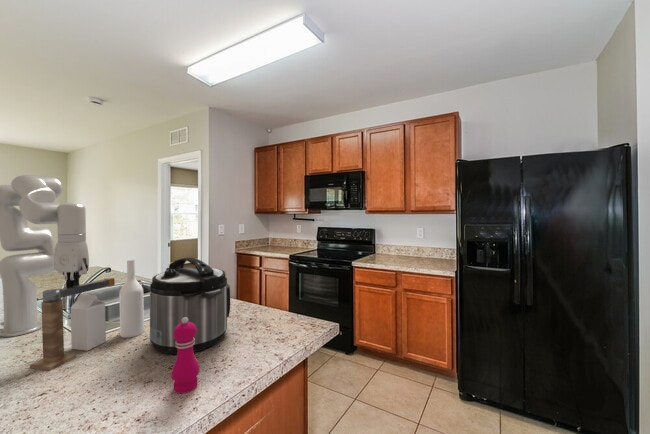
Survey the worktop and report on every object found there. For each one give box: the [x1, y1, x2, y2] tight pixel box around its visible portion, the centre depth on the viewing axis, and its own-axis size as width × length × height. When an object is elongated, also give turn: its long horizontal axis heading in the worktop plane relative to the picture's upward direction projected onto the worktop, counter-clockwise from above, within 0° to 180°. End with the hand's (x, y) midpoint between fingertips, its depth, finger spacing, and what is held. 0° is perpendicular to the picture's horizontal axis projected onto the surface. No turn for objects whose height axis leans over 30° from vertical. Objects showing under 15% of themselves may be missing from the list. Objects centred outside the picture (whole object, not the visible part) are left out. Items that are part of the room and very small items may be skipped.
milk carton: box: [70, 293, 107, 352], centre depth 108 cm, size 7×7×19 cm
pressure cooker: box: [149, 257, 231, 355], centre depth 113 cm, size 30×28×32 cm
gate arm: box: [42, 277, 116, 302], centre depth 104 cm, size 21×4×3 cm, turn 160°
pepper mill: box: [170, 317, 200, 394], centre depth 83 cm, size 7×7×20 cm
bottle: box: [118, 258, 145, 338], centre depth 118 cm, size 8×8×30 cm
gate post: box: [29, 298, 77, 371], centre depth 96 cm, size 8×8×20 cm
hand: (72, 290), depth 104 cm, fingers closed
